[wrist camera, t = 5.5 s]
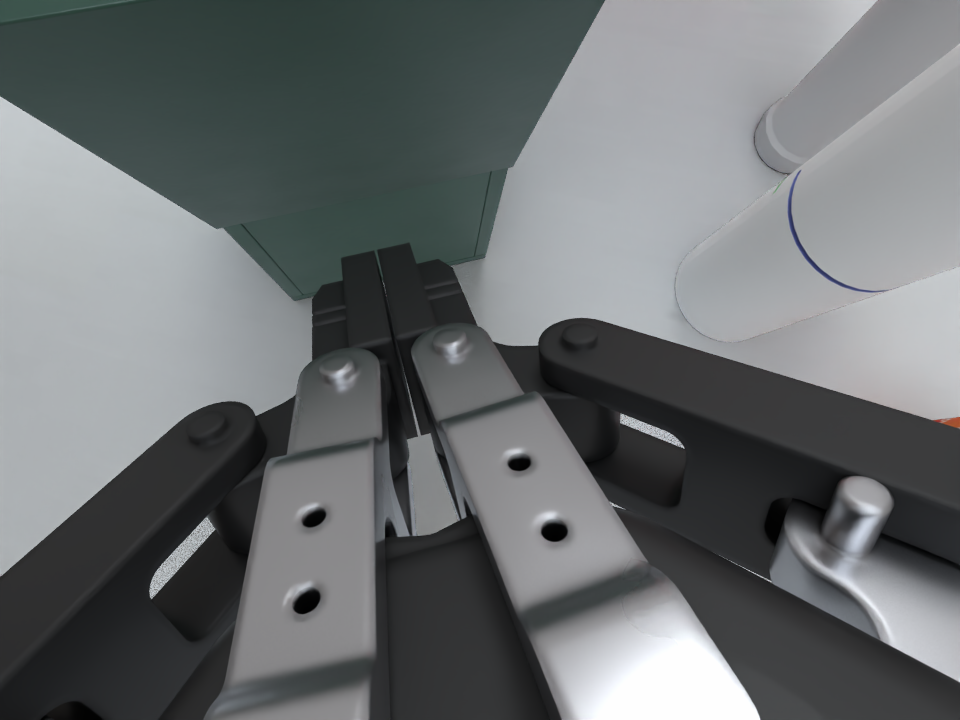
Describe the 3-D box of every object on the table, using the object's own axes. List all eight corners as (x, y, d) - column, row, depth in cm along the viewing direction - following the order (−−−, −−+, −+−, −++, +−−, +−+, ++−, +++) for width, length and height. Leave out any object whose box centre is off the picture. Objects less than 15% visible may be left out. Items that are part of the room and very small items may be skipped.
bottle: (776, 95, 41) (1282, -430, 17) (834, 138, 41) (1433, -326, 16) (737, 146, 40) (1209, -326, 16) (796, 191, 40) (1368, -216, 16)
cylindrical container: (660, 318, 38) (1074, 81, 13) (694, 223, 39) (1129, -153, 15) (760, 358, 38) (1351, 198, 13) (790, 263, 39) (1384, -45, 15)
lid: (-109, -12, 9) (-95, 40, 9) (642, -128, 10) (652, -83, 10) (211, 209, 23) (216, 229, 23) (509, 148, 25) (513, 167, 25)
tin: (250, 107, 38) (158, -61, 25) (435, 72, 39) (435, -104, 27) (293, 301, 36) (217, 223, 24) (485, 257, 38) (509, 162, 25)
